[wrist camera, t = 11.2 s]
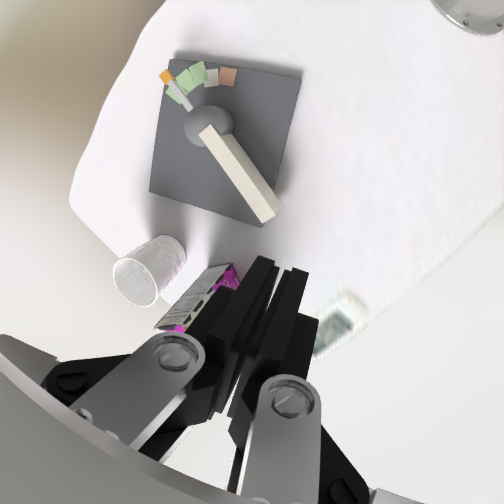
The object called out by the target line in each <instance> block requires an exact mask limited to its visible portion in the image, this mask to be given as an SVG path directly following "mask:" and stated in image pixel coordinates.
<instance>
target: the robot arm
mask: <svg viewBox="0 0 504 504" xmlns="http://www.w3.org/2000/svg"><path fill="white" fill-rule="evenodd" d="M431 1H432V3H433V4H434V5H435V7H436V8H437V9H438V10H439V11H440V12H441V14H442V15H444V16H445V17H446V18H447V19H448V20H449V21H451V22H452V23H453V24H455V25H456V26H458V27H460V28H461V29H463V30H465V31H468V32H470V33H473V34H477V35H493V34H496V33H498V32H500V31H501V30H503V29H504V0H431ZM463 23H464V24H465V25H464V24H463ZM274 264H275V261H274V260H271V259H268V258H265V257H262V256H259V255H258V257H257V258H256V260H255V261H254V263H253V264H252V266H251V267H250V269H249V270H248V272H247V273H246V275H245V277H244V278H243V280H242V281H241V283H240V284H239V286H238V287H237V289H236V290H235V289H232V288H229V287H227V286H224V285H220V286H219V287H218V288H217V289H216V291H215V292H214V293H213V295H212V296H211V297H210V299H209V300H208V301H207V303H206V304H205V305H204V307H203V308H202V309H201V311H200V312H199V313H198V315H197V316H196V317H195V319H194V320H193V321H192V323H191V324H190V325H189V327H188V328H187V329H186V331H185V332H184V333H182V332H176V331H166V332H162V333H158V334H156V335H155V336H153V337H151V338H150V339H149V340H148V341H146V342H145V343H144V344H143V345H142V346H140V347H139V348H138V349H137V350H136V351H135V352H133V353H132V354H126V355H118V356H110V357H101V358H92V359H82V360H71V361H66V362H59V361H58V358H57V357H55V356H53V355H51V354H48V353H46V352H44V351H41V350H39V349H37V348H34V347H32V346H30V345H28V344H26V343H24V342H22V341H20V340H18V339H15V338H13V337H12V336H8V335H5V334H2V335H0V504H424V503H420V502H417V501H414V500H411V499H408V498H405V497H402V496H399V495H397V494H394V493H391V492H388V491H386V490H383V489H380V488H377V489H375V490H374V489H371V488H369V487H368V486H367V484H366V482H365V481H364V479H363V478H362V477H361V475H360V474H359V473H358V472H357V470H356V469H355V468H354V467H353V465H352V464H351V463H350V461H349V460H348V459H347V458H346V456H345V455H344V454H343V452H342V451H341V450H340V448H339V447H338V446H337V445H336V443H335V442H334V441H333V439H332V438H331V437H330V435H329V434H328V433H327V431H326V430H325V429H324V427H323V426H322V425H321V400H320V396H319V394H318V392H317V391H316V389H315V388H314V387H313V386H312V385H311V384H310V383H309V382H307V381H306V378H307V374H308V370H309V365H310V361H311V357H312V352H313V347H314V343H315V338H316V333H317V328H318V323H319V320H318V319H316V318H313V317H310V316H307V315H304V314H301V313H298V309H299V306H300V303H301V299H302V296H303V293H304V289H305V286H306V282H307V279H308V275H309V273H308V272H305V271H302V270H299V269H297V268H294V267H293V268H292V271H289V270H286V269H285V270H284V272H283V275H282V277H281V279H280V282H279V284H278V286H277V288H276V291H275V293H274V295H273V297H272V300H271V302H270V304H269V301H270V298H271V294H272V291H273V288H274V285H275V282H276V279H277V276H278V273H279V269H280V267H277V266H274ZM268 304H269V306H268ZM267 307H268V308H267ZM266 310H267V311H266ZM240 374H241V375H240ZM239 376H240V378H239ZM238 378H239V381H238V384H237V387H236V390H235V393H234V396H233V399H232V402H231V405H230V408H229V411H228V414H227V416H228V417H230V418H233V419H232V421H231V424H230V427H229V429H228V432H229V434H230V435H231V437H232V439H233V441H234V443H235V448H234V451H233V455H232V460H231V464H230V468H229V473H228V477H227V481H226V486H225V490H222V489H219V488H216V487H214V486H211V485H209V484H206V483H204V482H201V481H199V480H197V479H194V478H192V477H189V476H187V475H185V474H183V473H180V472H178V471H176V470H174V469H172V468H170V467H167V466H165V465H163V463H164V462H165V461H166V460H167V458H168V457H169V456H170V455H171V454H172V452H173V451H174V450H175V449H176V448H177V446H178V445H179V444H180V443H181V442H182V440H183V439H184V438H185V437H186V435H187V434H188V433H189V432H190V430H191V428H192V427H193V425H196V424H200V423H203V422H206V421H207V419H209V420H211V418H212V416H213V414H214V412H218V413H220V414H221V413H222V411H223V410H224V407H225V405H226V403H227V401H228V399H229V397H230V395H231V393H232V391H233V389H234V386H235V384H236V382H237V380H238Z"/></svg>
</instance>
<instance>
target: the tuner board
mask: <svg viewBox="0 0 504 504" xmlns="http://www.w3.org/2000/svg"><path fill="white" fill-rule="evenodd" d="M168 70H169V71H170V73H171V74H172V75H173V76H174V78H175V79H174V80H175V82H176V83H177V84H178V86H179V87H180V88H181V90H182V91H183V92H184V93H185V95H186V96H187V97H188V99H189V100H190V101H191V103H192V104H193V105H194V107H197V106H201V105H211V106H222V107H224V108H226V109H228V110H229V111H230V112H231V114H232V116H233V118H234V123H235V125H234V131H233V133H232V135H233V136H234V138H235V139H236V140H237V142H238V143H239V144H240V146H241V147H242V149H243V150H244V151H245V153H246V154H247V156H248V157H249V158H250V160H251V161H252V162H253V164H254V165H255V167H256V168H257V169H258V171H259V172H260V174H261V175H262V177H263V178H264V179H265V181H266V182H267V184H268V185H269V187H270V188H271V189H272V191H273V189H274V185H275V181H276V178H277V174H278V170H279V166H280V162H281V158H282V154H283V151H284V147H285V143H286V139H287V135H288V131H289V127H290V124H291V120H292V116H293V112H294V108H295V104H296V100H297V96H298V92H299V89H300V85H301V80H299V79H295V78H290V77H286V76H282V75H277V74H272V73H267V72H262V71H257V70H252V69H246V68H240V67H234V66H228V65H221V64H213V63H205V62H204V61H201V62H196V61H186V60H175V59H170V60H169V65H168ZM188 113H189V112H188V111H187V110H186V108H185V107H184V106H183V104H182V103H181V102H180V100H179V99H178V98H177V96H176V95H175V94H174V92H173V91H172V90H171V88H170V87H169V86H168V85H164V90H163V95H162V101H161V107H160V113H159V119H158V125H157V131H156V138H155V145H154V153H153V160H152V169H151V177H150V187H149V192H152V193H155V194H158V195H161V196H165V197H168V198H171V199H174V200H177V201H180V202H184V203H187V204H190V205H193V206H196V207H199V208H202V209H206V210H209V211H212V212H215V213H218V214H221V215H224V216H227V217H230V218H233V219H236V220H239V221H242V222H245V223H248V224H251V225H254V226H257V227H260V228H262V227H263V226H264V224H265V222H264V223H263V224H262V223H261V221H260V220H259V219H258V217H257V216H256V214H255V213H254V211H253V210H252V209H251V207H250V206H249V204H248V203H247V201H246V200H245V199H244V197H243V196H242V194H241V193H240V192H239V190H238V189H237V187H236V186H235V185H234V183H233V182H232V180H231V179H230V178H229V176H228V175H227V173H226V172H225V171H224V169H223V168H222V167H221V165H220V164H219V162H218V161H217V160H216V158H215V157H214V155H213V154H212V153H211V151H210V150H209V149H208V147H207V146H206V147H201V146H197V145H195V144H193V143H191V142H190V141H189V139H188V138H187V137H186V134H185V131H184V121H185V118H186V116H187V114H188Z"/></svg>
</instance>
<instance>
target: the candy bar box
mask: <svg viewBox="0 0 504 504" xmlns="http://www.w3.org/2000/svg"><path fill="white" fill-rule="evenodd" d="M239 284H240V282H239V279H238V277H237V275H236V272H235V270H234V267H233V265H232V263H229V264H224V265H221V266H216V267H211V268H207V269H206V270H205V271H204V272H203V273H202V274H201V275H200V276H199V277H198V279H197V280H196V281H195V282H194V283H193V284H192V285H191V286H190V288H189V289H188V290H187V291H186V292H185V293H184V294H183V295H182V296H181V297H180V299H179V300H178V301H177V302H176V303H175V304H174V305H173V306H172V308H171V309H170V310H169V311H168V312H167V313H166V314H165V315H164V316H163V317H162V319H161V320H160V321H159V322H158V323H157V324H156V325H155V327H154V328H153V329H154V330H155V332H156V334H158V333H162V332H166V331H176V332H182V333H184V332H185V331H186V329H187V328H188V327H189V325H190V324H191V323H192V321H193V320H194V319H195V317H196V316H197V315H198V313H199V312H200V311H201V309H202V308H203V307H204V305H205V304H206V303H207V301H208V300H209V299H210V297H211V296H212V295H213V293H214V292H215V291H216V289H217V288H218V287H219V286H220V285H224V286H227V287H229V288H232V289H235V290H236V289H237V287H238V286H239Z"/></svg>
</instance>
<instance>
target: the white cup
mask: <svg viewBox="0 0 504 504" xmlns="http://www.w3.org/2000/svg"><path fill="white" fill-rule="evenodd" d="M185 263H186V254H185V251H184V248H183V247H182V245H181V244H180V243H179V241H178V240H176V239H175V238H173V237H172V236H168V235H161V236H158V237H156V238H154V239H152V240H151V241H148V242H146V243H145V244H143V245H141V246H139V247H138V248H136V249H134V250H133V251H131V252H130V253H128V254H127V255H125V256H123V257H122V258H120V259H119V260H117V261H116V263H115V264H114V267H113V279H114V282H115V285H116V287H117V288H118V290H119V292H120V293H121V294H122V296H123V297H124V298H125V299H127V300H128V301H129V302H131V303H132V304H134V305H137V306H140V307H148V306H151V305H152V304H153V303H154V302H155V301H156V300H157V299H158V298H159V296H160V295H161V294H162V293H163V292H164V291H165V289H166V288H167V287H168V286H169V285H170V284H171V283H172V281H173V280H174V279H175V278H176V276H177V274H178V273H179V272H180V271H181V270H182V268H183V267H184V266H185Z"/></svg>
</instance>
